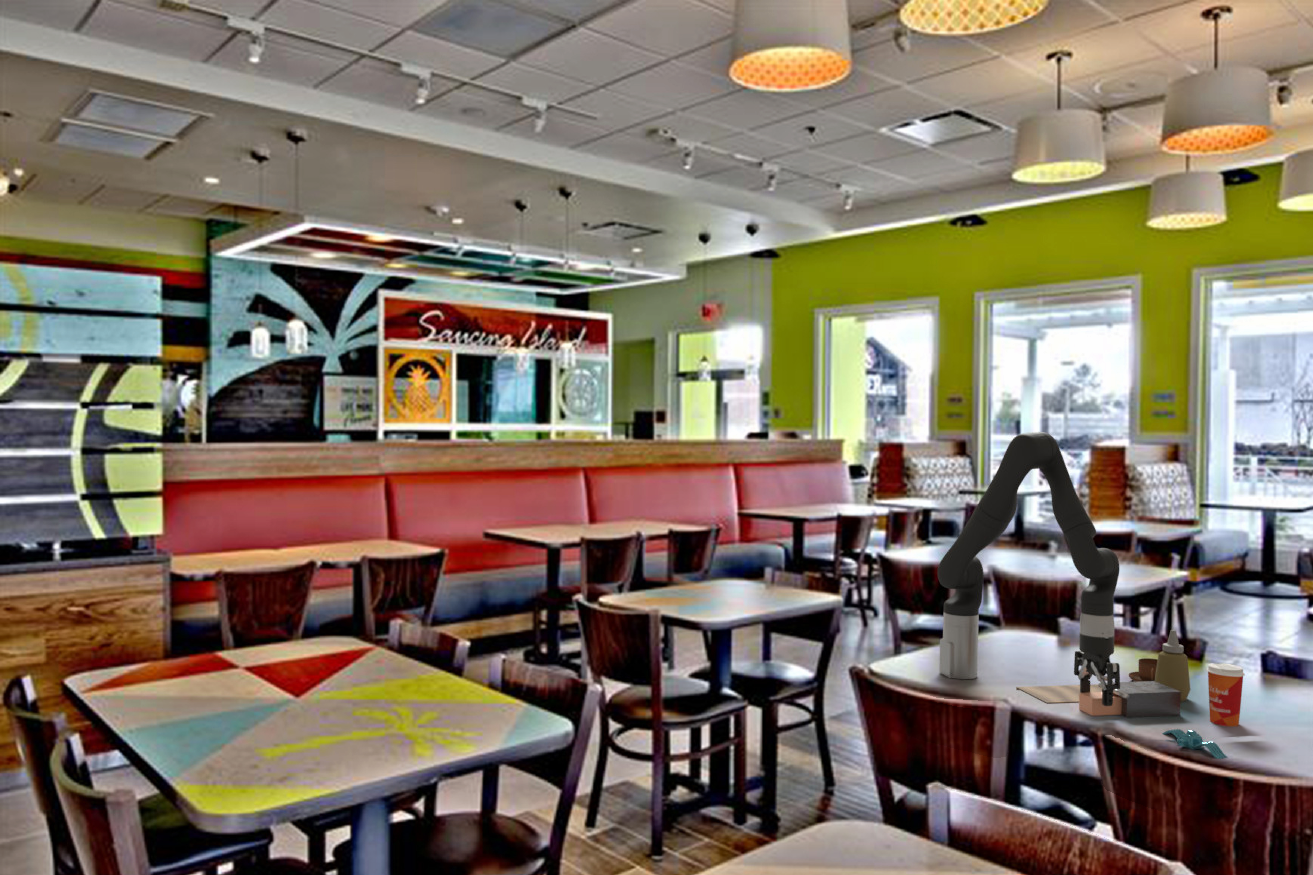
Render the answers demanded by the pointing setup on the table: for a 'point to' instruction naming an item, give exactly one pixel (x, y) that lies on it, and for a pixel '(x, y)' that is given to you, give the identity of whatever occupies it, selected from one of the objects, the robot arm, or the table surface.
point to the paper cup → (1225, 693)
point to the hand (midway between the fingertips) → (1096, 700)
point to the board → (1057, 693)
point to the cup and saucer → (1145, 670)
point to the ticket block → (1099, 704)
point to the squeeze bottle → (1173, 666)
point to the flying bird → (1195, 742)
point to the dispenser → (1148, 699)
